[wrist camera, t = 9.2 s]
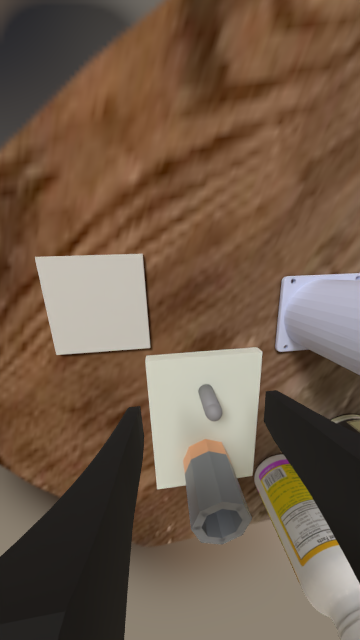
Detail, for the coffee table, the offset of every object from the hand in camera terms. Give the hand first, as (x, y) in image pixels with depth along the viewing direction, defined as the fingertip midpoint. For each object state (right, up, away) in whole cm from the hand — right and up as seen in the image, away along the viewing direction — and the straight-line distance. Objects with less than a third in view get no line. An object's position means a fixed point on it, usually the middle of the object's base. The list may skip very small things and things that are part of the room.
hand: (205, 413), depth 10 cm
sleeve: (+2, -11, +11) cm, 16 cm away
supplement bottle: (+12, -15, +15) cm, 24 cm away
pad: (-9, +7, +7) cm, 13 cm away
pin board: (+1, -6, +11) cm, 13 cm away
